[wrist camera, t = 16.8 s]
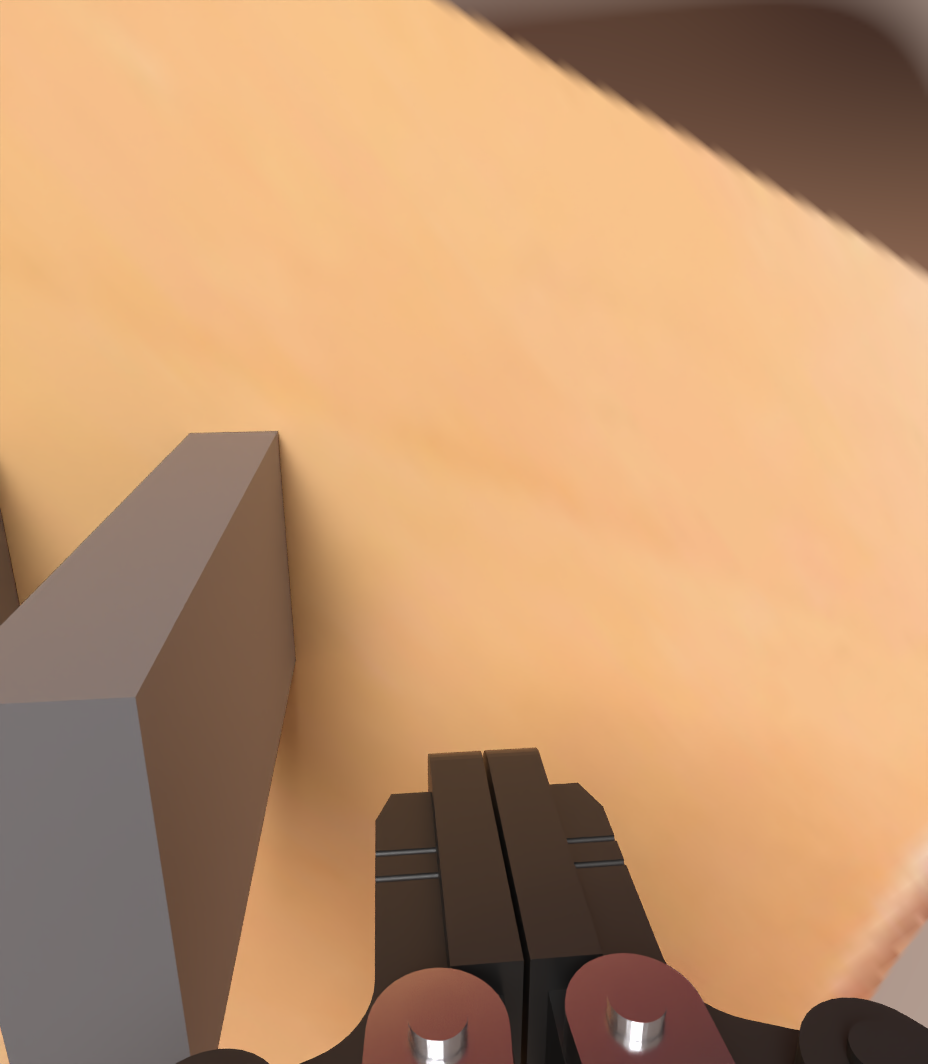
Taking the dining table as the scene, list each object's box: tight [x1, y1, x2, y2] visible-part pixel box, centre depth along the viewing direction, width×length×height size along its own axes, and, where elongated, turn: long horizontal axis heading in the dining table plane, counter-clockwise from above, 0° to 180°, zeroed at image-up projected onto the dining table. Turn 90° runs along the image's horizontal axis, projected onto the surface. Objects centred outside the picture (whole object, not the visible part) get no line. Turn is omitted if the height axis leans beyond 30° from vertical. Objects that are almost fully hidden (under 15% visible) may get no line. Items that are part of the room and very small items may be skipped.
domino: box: [0, 431, 296, 1064], centre depth 15 cm, size 2×6×12 cm, turn 0°
